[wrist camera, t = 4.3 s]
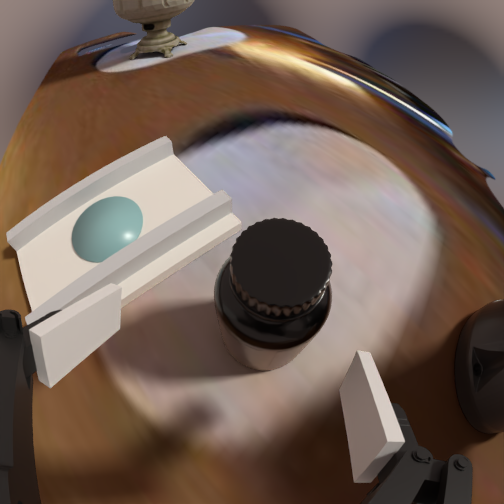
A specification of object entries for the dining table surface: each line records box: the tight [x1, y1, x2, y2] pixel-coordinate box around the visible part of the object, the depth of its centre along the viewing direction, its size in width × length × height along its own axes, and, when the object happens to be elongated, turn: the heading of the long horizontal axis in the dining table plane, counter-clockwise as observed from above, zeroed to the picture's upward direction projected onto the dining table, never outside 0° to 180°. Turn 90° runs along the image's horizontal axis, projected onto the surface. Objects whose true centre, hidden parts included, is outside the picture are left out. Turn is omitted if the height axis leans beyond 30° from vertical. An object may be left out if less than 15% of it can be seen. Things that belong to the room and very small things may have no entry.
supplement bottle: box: [214, 218, 332, 371], centre depth 18 cm, size 7×7×12 cm
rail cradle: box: [6, 136, 242, 325], centre depth 26 cm, size 22×16×3 cm
